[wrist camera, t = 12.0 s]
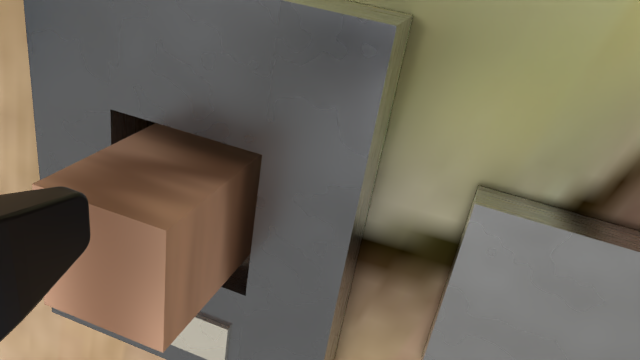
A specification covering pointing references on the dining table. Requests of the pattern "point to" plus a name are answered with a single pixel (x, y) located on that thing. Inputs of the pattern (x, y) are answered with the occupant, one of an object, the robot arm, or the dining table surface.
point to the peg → (157, 231)
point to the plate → (237, 137)
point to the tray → (538, 286)
